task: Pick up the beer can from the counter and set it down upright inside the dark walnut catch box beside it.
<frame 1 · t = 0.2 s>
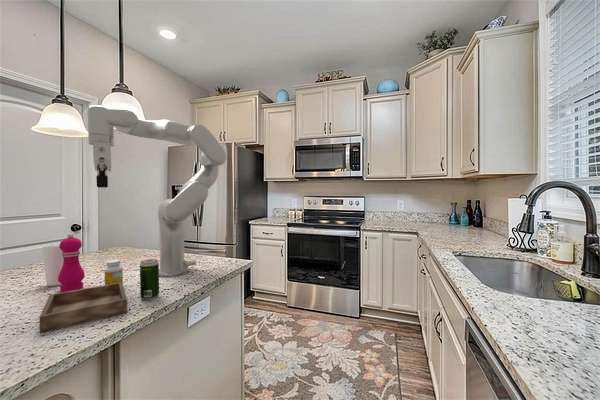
hand: (102, 187, 99), 36 cm above the worktop, tool pointing down, fingers open, 9 cm apart
catch box: (87, 310, 78), on the worktop
supplement bottle: (113, 288, 97), on the worktop
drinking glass: (56, 284, 100), on the worktop
beer can: (149, 297, 88), on the worktop
pepper mill: (71, 289, 95), on the worktop
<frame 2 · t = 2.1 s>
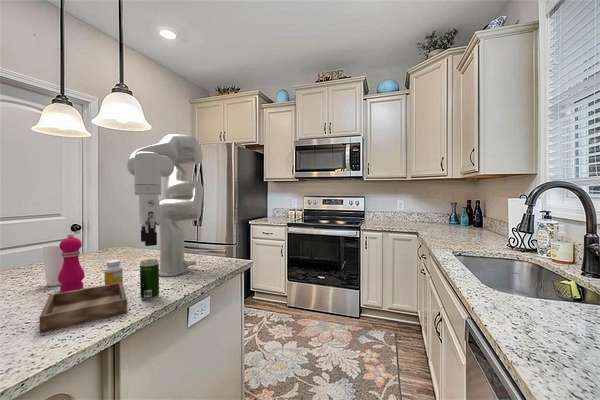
hand: (148, 243, 87), 18 cm above the worktop, tool pointing down, fingers open, 9 cm apart
nothing on the worktop moved.
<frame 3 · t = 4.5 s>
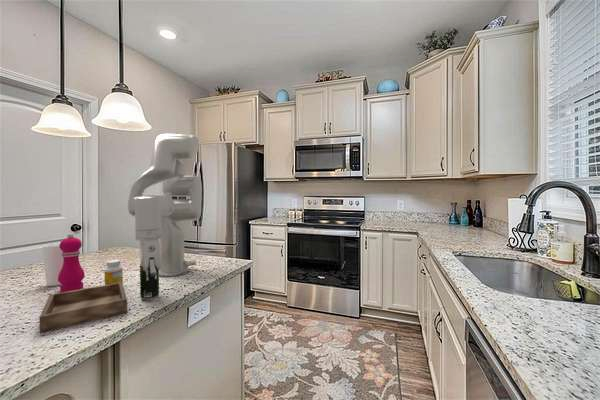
hand: (149, 288, 88), 3 cm above the worktop, tool pointing down, fingers closed on beer can, 5 cm apart
beer can: (149, 297, 88), on the worktop, touching gripper
everything else where it was.
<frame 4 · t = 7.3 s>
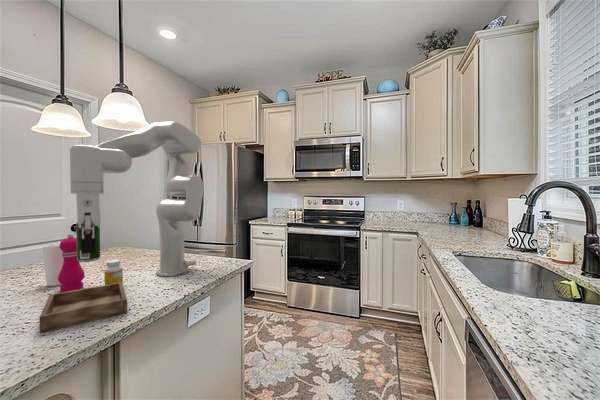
hand: (88, 250, 78), 18 cm above the worktop, tool pointing down, fingers closed on beer can, 5 cm apart
beer can: (89, 260, 78), point 15 cm above the worktop, touching gripper
everything else where it was.
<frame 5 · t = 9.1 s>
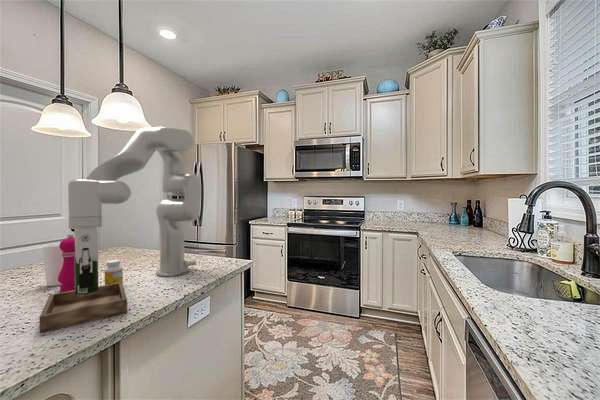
hand: (86, 283, 78), 8 cm above the worktop, tool pointing down, fingers closed on beer can, 5 cm apart
beer can: (87, 294, 78), point 5 cm above the worktop, touching gripper
everything else where it was.
when the fingers open (5 cm above the worktop, at t = 10.5 s): beer can drops 1 cm, resting on catch box.
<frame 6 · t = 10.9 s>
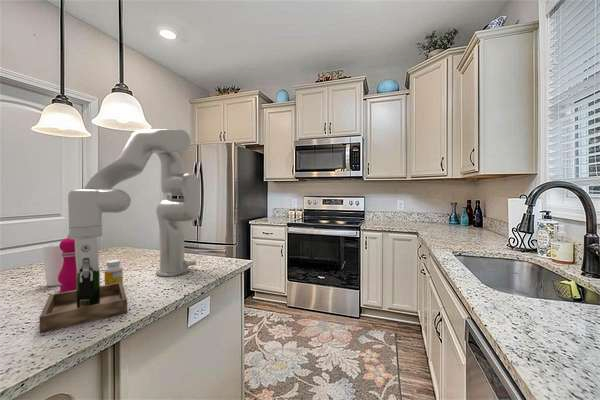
hand: (87, 290, 78), 6 cm above the worktop, tool pointing down, fingers open, 9 cm apart
beer can: (88, 307, 78), point 1 cm above the worktop, touching catch box
everything else where it was.
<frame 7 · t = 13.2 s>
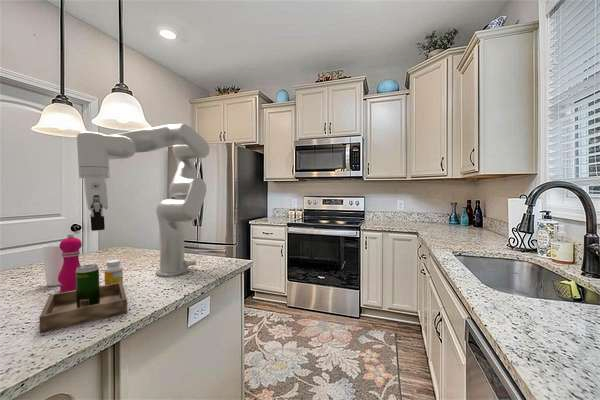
hand: (97, 228, 84), 23 cm above the worktop, tool pointing down, fingers open, 9 cm apart
nothing on the worktop moved.
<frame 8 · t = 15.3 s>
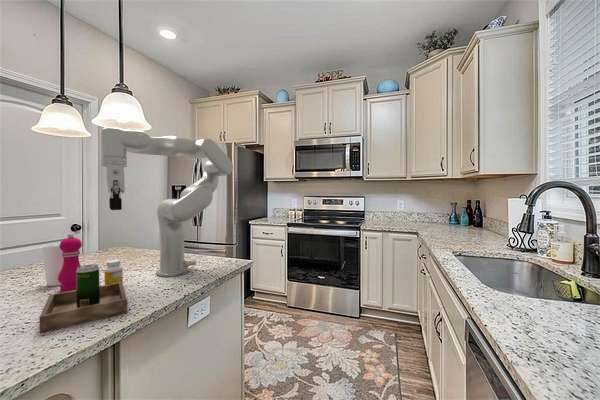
hand: (115, 209, 98), 28 cm above the worktop, tool pointing down, fingers open, 9 cm apart
nothing on the worktop moved.
at the end: beer can inside the target area on the catch box (0.4 cm from its centre), point 0.6 cm above the catch box's base; beer can tilted 0°; the gripper is holding nothing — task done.
